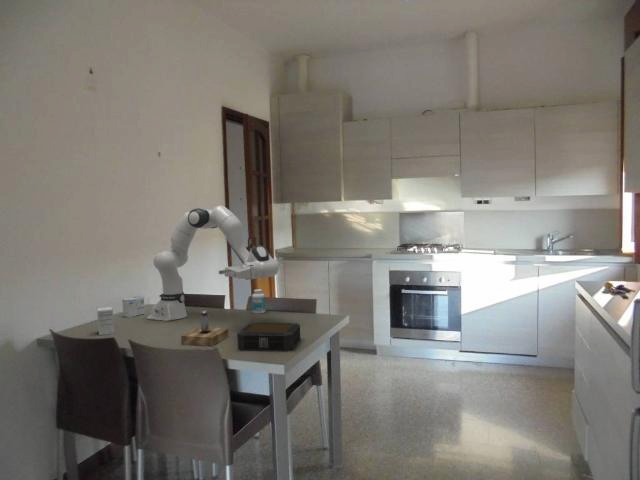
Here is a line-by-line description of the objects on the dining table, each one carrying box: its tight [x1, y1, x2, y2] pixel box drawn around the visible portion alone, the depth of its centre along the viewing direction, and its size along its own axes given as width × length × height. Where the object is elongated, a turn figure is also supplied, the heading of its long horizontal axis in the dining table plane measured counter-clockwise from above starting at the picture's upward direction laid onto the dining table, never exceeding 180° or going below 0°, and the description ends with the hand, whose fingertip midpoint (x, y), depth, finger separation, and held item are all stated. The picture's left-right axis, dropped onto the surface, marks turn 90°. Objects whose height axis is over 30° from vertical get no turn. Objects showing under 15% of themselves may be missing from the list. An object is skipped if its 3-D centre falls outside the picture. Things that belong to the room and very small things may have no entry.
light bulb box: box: [121, 295, 146, 318], centre depth 289 cm, size 11×7×11 cm, turn 144°
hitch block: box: [180, 326, 229, 347], centre depth 232 cm, size 16×16×4 cm
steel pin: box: [198, 309, 210, 334], centre depth 232 cm, size 4×4×14 cm
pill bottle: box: [251, 288, 266, 315], centre depth 287 cm, size 8×7×14 cm
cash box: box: [236, 322, 301, 352], centre depth 223 cm, size 25×20×8 cm
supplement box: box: [96, 306, 115, 336], centre depth 252 cm, size 7×7×13 cm
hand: (221, 273), depth 242 cm, fingers open, 8 cm apart
